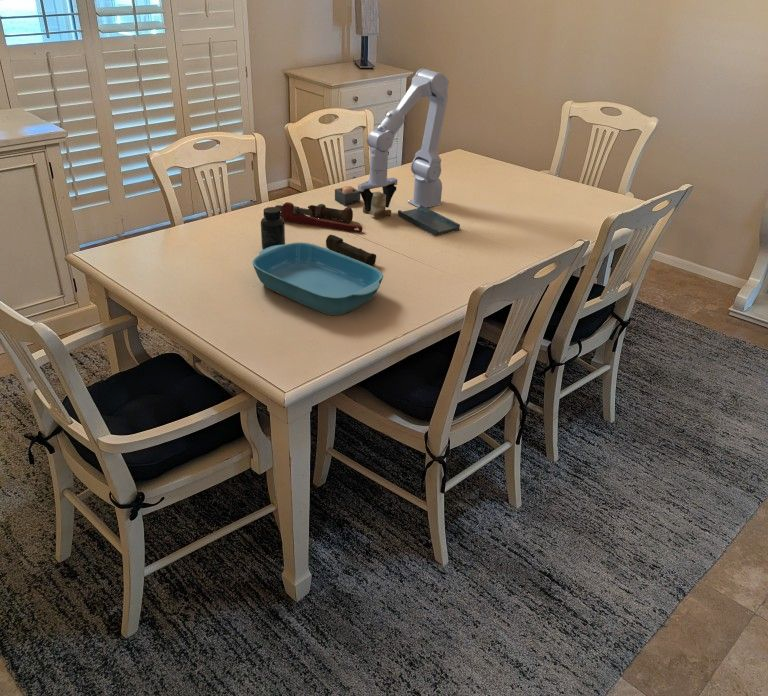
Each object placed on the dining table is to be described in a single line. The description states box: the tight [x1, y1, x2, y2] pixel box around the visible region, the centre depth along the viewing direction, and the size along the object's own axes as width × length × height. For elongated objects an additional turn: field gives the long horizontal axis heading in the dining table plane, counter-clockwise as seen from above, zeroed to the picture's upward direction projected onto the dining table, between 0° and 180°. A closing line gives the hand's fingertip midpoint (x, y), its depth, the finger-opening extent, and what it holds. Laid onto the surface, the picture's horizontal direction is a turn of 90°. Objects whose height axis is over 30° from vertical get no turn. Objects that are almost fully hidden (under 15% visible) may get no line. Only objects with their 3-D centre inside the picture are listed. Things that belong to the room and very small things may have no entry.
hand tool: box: [325, 234, 377, 267], centre depth 199 cm, size 19×4×5 cm, turn 45°
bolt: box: [307, 203, 354, 224], centre depth 223 cm, size 6×5×15 cm
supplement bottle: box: [260, 206, 286, 250], centre depth 199 cm, size 7×7×12 cm
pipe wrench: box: [274, 201, 363, 234], centre depth 217 cm, size 7×2×30 cm
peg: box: [368, 190, 387, 217], centre depth 228 cm, size 4×4×7 cm
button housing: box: [334, 185, 361, 207], centre depth 238 cm, size 6×6×4 cm
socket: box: [362, 205, 392, 220], centre depth 229 cm, size 6×8×2 cm
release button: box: [341, 185, 354, 193], centre depth 238 cm, size 4×4×4 cm
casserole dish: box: [252, 242, 384, 316], centre depth 179 cm, size 37×22×7 cm, turn 53°
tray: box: [397, 205, 461, 237], centre depth 224 cm, size 10×20×2 cm, turn 36°
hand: (377, 208), depth 229 cm, fingers open, 7 cm apart
